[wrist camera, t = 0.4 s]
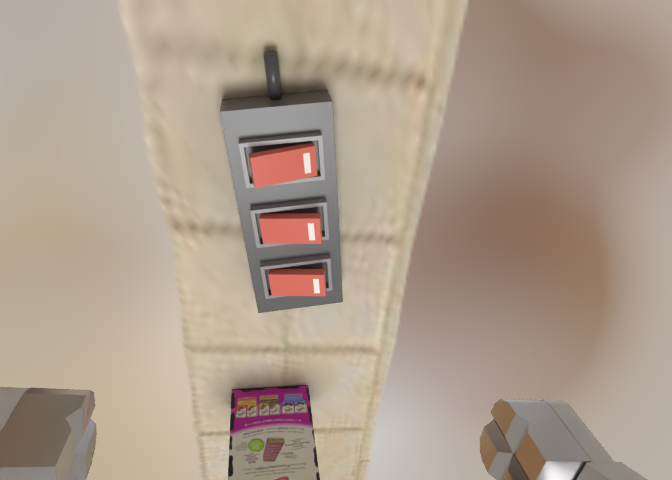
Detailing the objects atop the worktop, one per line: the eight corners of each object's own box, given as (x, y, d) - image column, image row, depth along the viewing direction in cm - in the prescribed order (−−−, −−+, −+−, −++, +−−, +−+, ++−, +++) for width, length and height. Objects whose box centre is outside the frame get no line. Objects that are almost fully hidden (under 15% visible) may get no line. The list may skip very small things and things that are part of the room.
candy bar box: (232, 411, 69) (226, 528, 55) (231, 388, 66) (224, 506, 52) (307, 405, 70) (319, 518, 57) (309, 384, 68) (322, 496, 54)
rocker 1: (248, 153, 41) (250, 158, 41) (311, 142, 43) (315, 146, 42) (253, 183, 43) (255, 188, 42) (314, 171, 45) (317, 176, 44)
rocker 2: (261, 213, 46) (258, 219, 46) (320, 213, 46) (319, 219, 45) (265, 238, 48) (263, 244, 47) (322, 238, 48) (321, 244, 47)
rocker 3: (270, 268, 50) (268, 275, 49) (324, 269, 50) (323, 275, 49) (273, 289, 52) (271, 296, 51) (326, 290, 52) (325, 296, 51)
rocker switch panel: (214, 55, 41) (209, 67, 38) (325, 46, 42) (331, 56, 39) (258, 293, 57) (258, 318, 53) (338, 283, 58) (343, 307, 54)
